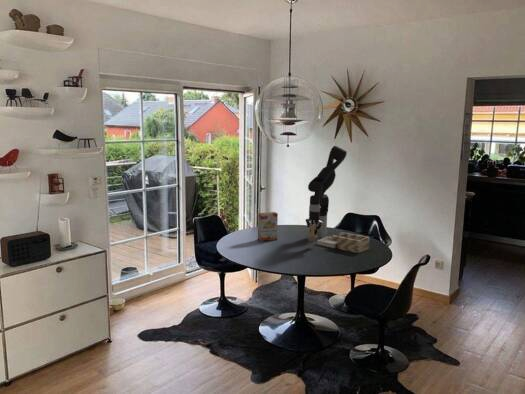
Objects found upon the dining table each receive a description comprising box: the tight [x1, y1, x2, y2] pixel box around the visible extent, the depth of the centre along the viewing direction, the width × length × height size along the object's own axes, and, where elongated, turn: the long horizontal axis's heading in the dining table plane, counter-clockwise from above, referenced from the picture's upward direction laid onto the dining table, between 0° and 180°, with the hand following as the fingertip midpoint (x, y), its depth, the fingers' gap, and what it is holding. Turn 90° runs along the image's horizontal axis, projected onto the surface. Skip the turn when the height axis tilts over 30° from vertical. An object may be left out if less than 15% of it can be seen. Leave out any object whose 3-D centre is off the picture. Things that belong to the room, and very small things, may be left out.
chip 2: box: [347, 233, 356, 239], centre depth 320 cm, size 4×4×4 cm
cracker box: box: [257, 211, 279, 242], centre depth 339 cm, size 14×6×21 cm, turn 112°
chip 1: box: [338, 231, 348, 238], centre depth 324 cm, size 4×4×4 cm
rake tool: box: [307, 225, 320, 243], centre depth 319 cm, size 4×8×10 cm, turn 139°
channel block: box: [331, 232, 371, 254], centre depth 321 cm, size 22×15×8 cm
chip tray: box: [316, 235, 338, 249], centre depth 331 cm, size 15×16×3 cm
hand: (313, 233), depth 319 cm, fingers closed on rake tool, 3 cm apart
